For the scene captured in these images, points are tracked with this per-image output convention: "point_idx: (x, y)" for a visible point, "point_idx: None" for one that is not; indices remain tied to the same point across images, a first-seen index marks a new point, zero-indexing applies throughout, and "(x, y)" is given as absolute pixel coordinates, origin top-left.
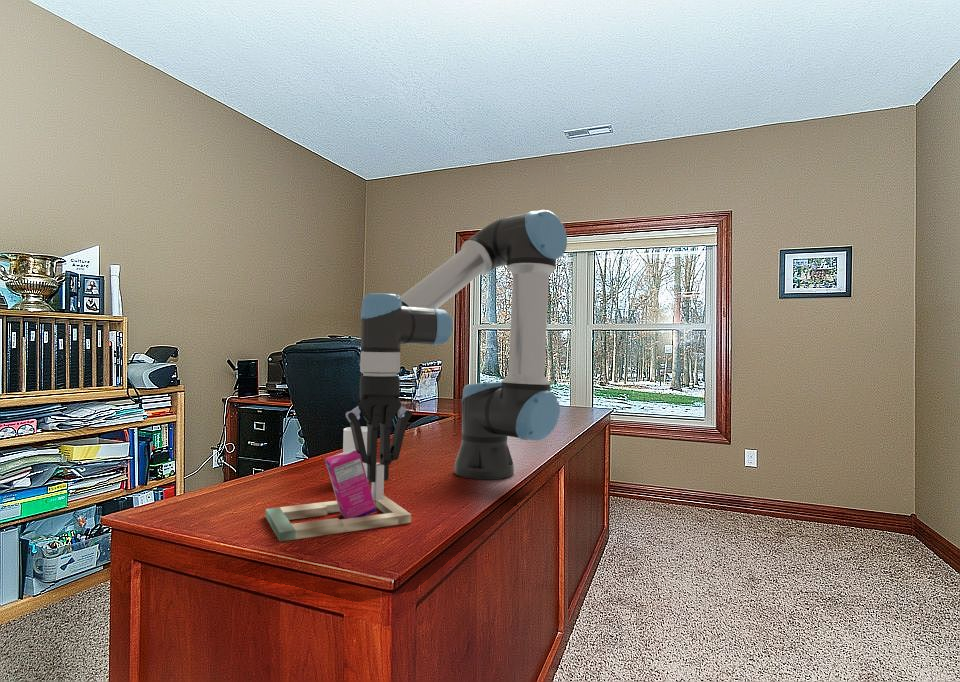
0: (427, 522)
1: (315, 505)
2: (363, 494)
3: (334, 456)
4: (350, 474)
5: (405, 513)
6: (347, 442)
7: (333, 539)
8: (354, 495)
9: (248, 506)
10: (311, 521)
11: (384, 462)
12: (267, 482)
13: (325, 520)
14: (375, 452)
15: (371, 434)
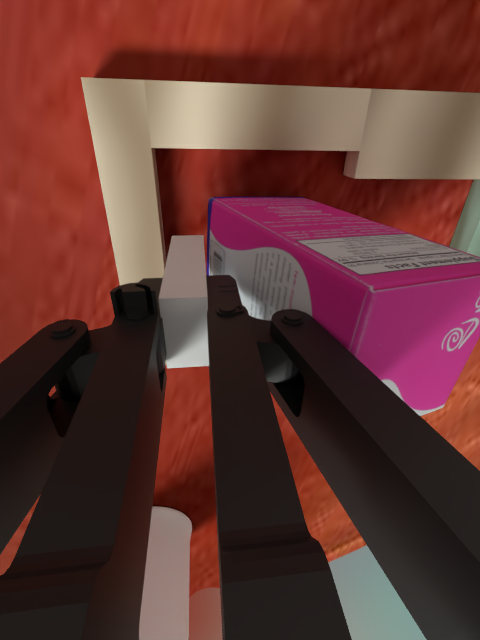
0: (16, 47)
1: None
2: (271, 213)
3: (421, 400)
4: (370, 243)
5: (104, 107)
6: (182, 635)
7: (418, 22)
8: (310, 213)
9: (431, 413)
10: (439, 175)
11: (156, 301)
12: (330, 530)
13: (400, 165)
14: (220, 348)
15: (290, 473)
